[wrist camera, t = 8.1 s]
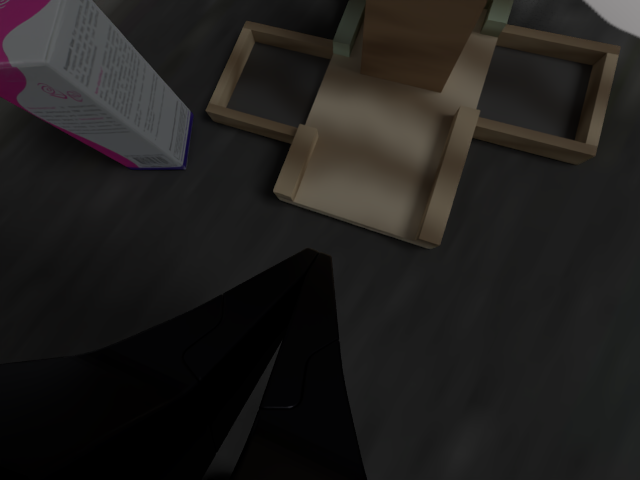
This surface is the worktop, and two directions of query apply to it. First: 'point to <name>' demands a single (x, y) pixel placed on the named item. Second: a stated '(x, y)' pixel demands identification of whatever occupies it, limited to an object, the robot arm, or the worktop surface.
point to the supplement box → (90, 83)
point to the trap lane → (409, 115)
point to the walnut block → (416, 39)
